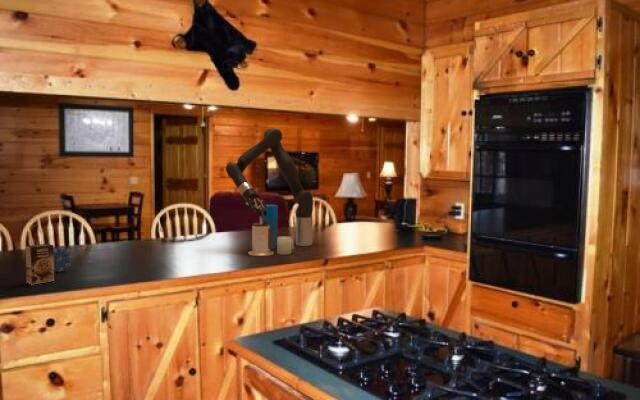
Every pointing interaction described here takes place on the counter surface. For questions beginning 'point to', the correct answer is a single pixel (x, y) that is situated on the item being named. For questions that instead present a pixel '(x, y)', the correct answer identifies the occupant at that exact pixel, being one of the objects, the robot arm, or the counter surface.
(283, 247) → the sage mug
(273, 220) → the blue tapered block
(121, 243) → the counter surface
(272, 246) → the beige cylinder with base
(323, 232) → the counter surface
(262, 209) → the plunger
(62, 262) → the grapes
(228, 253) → the counter surface
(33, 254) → the coffee box
